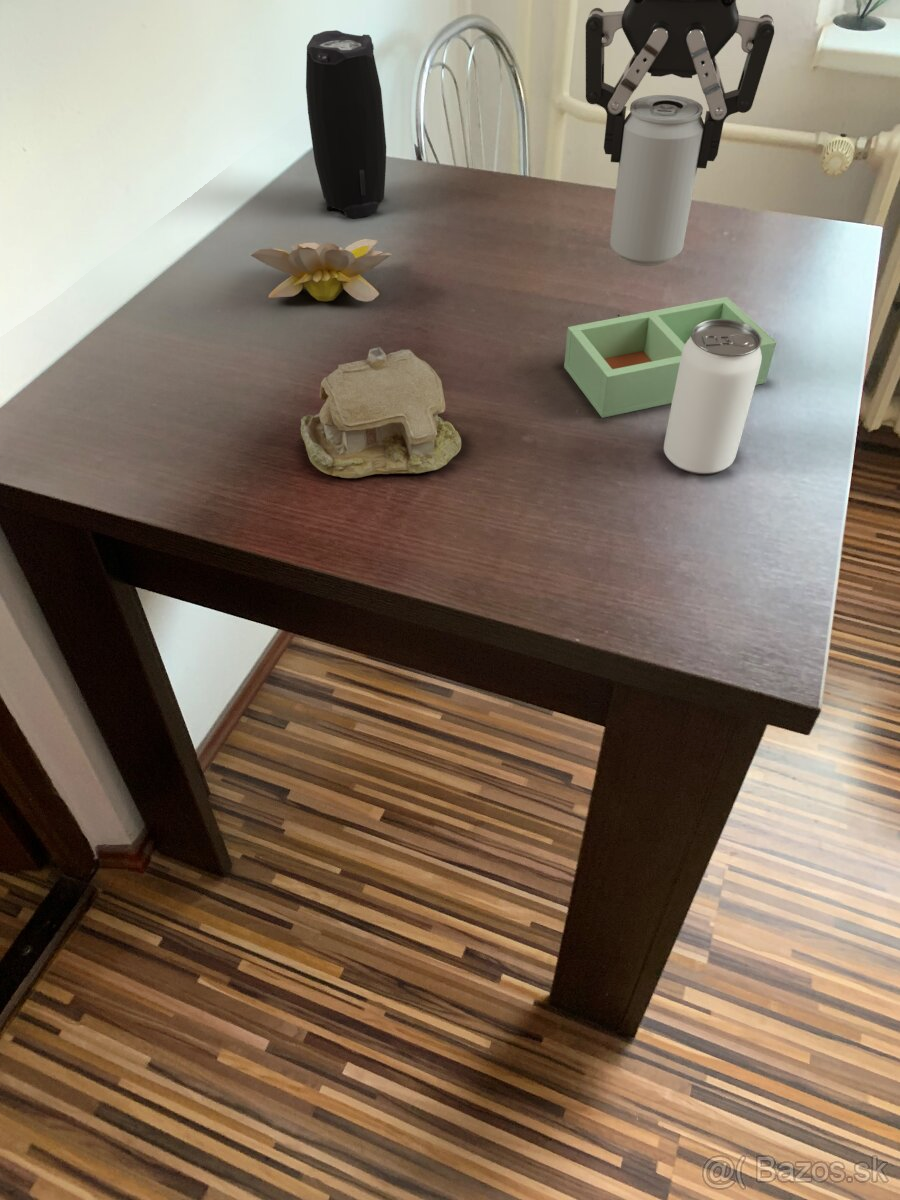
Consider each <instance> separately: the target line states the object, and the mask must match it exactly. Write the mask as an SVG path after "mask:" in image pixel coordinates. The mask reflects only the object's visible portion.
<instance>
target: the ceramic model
mask: <svg viewBox="0 0 900 1200" xmlns="http://www.w3.org/2000/svg"><path fill="white" fill-rule="evenodd" d="M319 399H320V400H322V401H325V402H324V404H323V405H322V406H321V408H320V411H319V413H317V414H315V415H313V414H307V415H303V417H302V418H301V419H300V423H301V425H300V436H301V438H302V440H303V442H304V446H305V450H306V452H307V455H308V459H309V461H310V463H311V464H312V465H313V466H314V467H315V468H316V469H317V470H319V471H320V472H322V473H324V474H326V475H329V476H333V477H339V478H342V479H358V478H363V477H367V476H372V475H381V474H382V475H390V474H422V473H426V472H431V471H437V470H439V469H441V468H442V467H444V466H446V465H447V464H448V463H449V462H450V461H451V460H452V459H453V458H454V457H456V456H457V455H458V453H459V452H460V451H461V449H462V438H461V436H460V433H459V432H458V430H456V429H455V427H454V425H453V424H452V423H451V422H449V421H448V420H444V419H443V418H441V416H439V415H440V414H442V413H444V412H445V410H446V402H445V396H444V388H443V383H442V380H441V378H440V376H439V375H438V373H437V372H436V371H435V369H433V367H432V366H431V365H430V364H429V363H427V362H426V361H425V360H422V359H420V358H419V357H418V356H416V355H415V354H414V353H413V352H412V350H411V349H410V348H409V349H403V348H402V349H400V350H397V351H394V352H390V353H388V354H386V353H385V351H384V350H383V349H382V347H381V346H379V347H374V348H371V349H369V351H368V355H367V359H361V360H356V361H353V362H347V363H341V364H338V367H337V369H335V370H333V371H332V372H331V373H329V374H328V375H327V376H324V377H323V379H322V380H321V381H320V388H319Z"/></svg>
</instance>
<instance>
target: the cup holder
mask: <svg viewBox="0 0 900 1200" xmlns="http://www.w3.org/2000/svg"><path fill="white" fill-rule="evenodd" d="M713 319H728V320H734V321H738V322H741V323H744V324H747V325H749V326H750V327H752V328H754V329H755V330H756V331H757V332H758V333H759V335H760V336H761V345H760V350H761V354H762V360H761V365H760V369H759V373H758V377H757V381H756V385H755V386H758V385H763V384H766V381H767V377H768V375H769V371H770V367H771V363H772V360H773V356H774V353H775V349H776V346H777V341H776V340H775V339H773V337H771V336H770V335H769V334H768V333H767V332H766V331H765V330H764V329H763V328H762V327H761V326H759V325H758V324H757V323H756V322H755V321H754V320H753V319H752V318H751V317H750V316H749V315H748V314H746V313H745V311H743V310H742V309H741V308H740V307H739V306H738V305H737V304H735V303H734V302H733V301H732V300H731V299H730V298H729V297H728V296H724V297H718V298H714V299H707V300H703V301H698V302H692V303H686V304H682V305H676V306H671V307H666V308H665V307H664V308H660V309H656V310H655V309H654V310H651V311H645V312H639V313H634V314H629V315H623V316H619V317H613V318H608V319H603V320H597V321H591V322H587V323H586V322H585V323H581V324H577V325H572V326H571V325H570V326H568V327H567V329H566V330H567V331H566V342H565V352H564V353H565V355H564V364H563V368H564V369H565V371H566V372H567V373H568V375H569V376H570V378H571V379H572V380H573V382H574V383H575V384H576V385H577V386H578V388H579V389H580V390H581V392H582V393H583V394H584V396H585V397H586V399H587V400H588V401H589V402H590V404H591V405H592V406H593V408H594V409H595V411H596V412H597V414H599V416H600V417H601V418H602V419H603V418H608V417H613V416H618V415H622V414H628V413H632V412H637V411H642V410H646V409H651V408H655V407H660V406H664V405H665V406H666V405H670V404H672V400H673V395H674V390H675V385H676V380H677V375H678V370H679V365H680V360H681V355H682V351H683V347H684V345H685V343H686V342H687V341H688V339H689V338H690V337H691V331H692V329H693V328H694V327H695V326H696V325H697V324H699V323H701V322H704V321H707V320H713Z"/></svg>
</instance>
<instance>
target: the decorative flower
mask: <svg viewBox="0 0 900 1200" xmlns="http://www.w3.org/2000/svg"><path fill="white" fill-rule="evenodd" d="M378 242H379V241H378V240H376V239H370V238H364V239H359V240H356V241H354V242H353V243H350V244H349V245H347V246H346V247H345V248H344V249H343V247H339V246H338V245H336V244H335V243H333V242H324V243H321V244H319V243H317V242H304V243H299V244H293V245H292V247H291V252H290V253H289V252H288V251H286V250H283V249H280V248H260V249H258V250H257V251H255V252H253V253H252V254H251V255H250V256H251V257H252V258H254V259H256V260H258V261H259V262H261V263H263V264H264V265H266V266H269V267H271V268H273V269H275V270H278V271H280V272H282V273H285V274H287V275H290V276H289V277H287V278H286V279H285V280H283V281H282V282H281V283H279V284H278V285H277V286H276V287H275V288H273V290H271V292H270V293H269V294H268V298H283V297H284V298H285V297H286V298H287V297H295V296H296V295H298V294H299V293H300V292H301V291H302V290H303V288H305V289H306V290H307V292H308V293H309V294H310V296H311V297H312V298H314V299H315V300H317V301H319V302H324V303H326V302H331V301H332V302H333V301H334V300H335V299H336V298H337V297H338V296H339V295H340V294H341V293H342V292H343V290H344V291H345V292H346V293H348V295H349V296H351V297H352V298H354V299H355V300H357V301H361V302H372V301H374V300H375V299H376V298H378V296H379V295H380V292H379V291H378V290H377V289H376V288H375V287H374V286H373V285H372V284H371V283H369V281H367V280H366V279H365V278H364V277H363V276H361V275H362V274H364V273H366V272H368V271H370V270H372V269H374V268H375V267H377V266H378V265H380V264H381V263H382V262H384V261H385V260H386V259H388V258H389V257H391V256H392V253H390V252H386V253H384V252H383V251H380V250H373V249H374V247H375V246H376V245H377V244H378ZM372 250H373V251H372Z"/></svg>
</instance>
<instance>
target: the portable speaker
mask: <svg viewBox="0 0 900 1200" xmlns="http://www.w3.org/2000/svg"><path fill="white" fill-rule="evenodd" d="M374 50H375V45H374V43H373V40H372V37H371V35H370V34H362V35H360V34H359V35H357V34H351V33H346V32H342V31H341V30H337V29H335V30H325V31H321V32H318V33H316V34H313V35H312V37H311V38H310V40H309V41H308V43H307V45H306V66H305V67H306V68H305V93H306V104H307V115H308V122H309V123H308V124H309V129H310V137H311V143H312V144H311V146H312V151H313V152H312V153H313V158H314V159H313V160H314V164H315V168H316V172H317V176H318V180H319V181H318V182H319V185H320V189H321V192H322V196H323V199H324V201H325V205H326V206H325V207H326V211H332V210H333V209H335V210H338V211H340V212H343V213H344V214H345V216H346V217H347V218H351V219H359V218H364V217H369V216H371V215H374V214H376V213H377V210H378V208H379V206H380V204H381V203H382V202H383V200H384V199H385V188H386V187H385V186H386V169H387V138H386V128H385V127H386V126H385V116H384V105H383V93H382V87H381V82H380V77H379V72H378V68H377V64H376V63H377V62H376V59H375V54H374V53H375V52H374Z"/></svg>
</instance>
